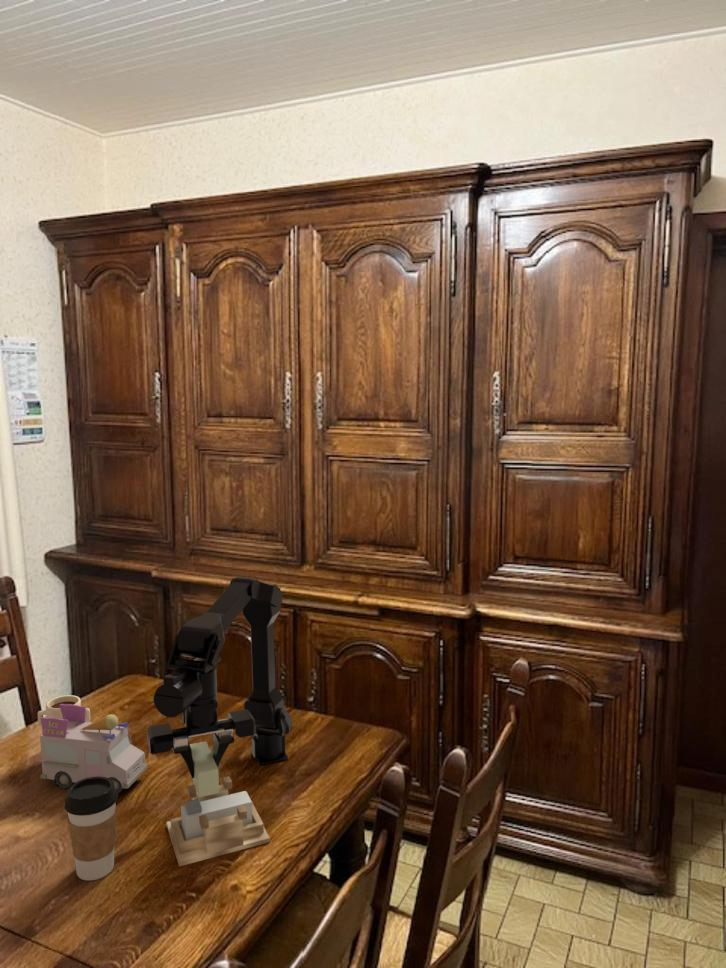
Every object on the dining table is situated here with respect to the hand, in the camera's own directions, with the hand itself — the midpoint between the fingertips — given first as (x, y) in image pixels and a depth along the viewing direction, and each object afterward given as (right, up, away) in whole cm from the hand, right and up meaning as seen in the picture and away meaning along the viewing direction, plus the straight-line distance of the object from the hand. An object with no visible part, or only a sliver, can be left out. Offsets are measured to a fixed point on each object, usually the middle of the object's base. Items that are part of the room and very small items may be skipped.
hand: (203, 774), depth 131 cm
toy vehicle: (-26, -9, +18) cm, 33 cm away
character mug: (-36, -8, +27) cm, 46 cm away
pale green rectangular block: (0, -1, 0) cm, 1 cm away
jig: (+3, -11, 0) cm, 11 cm away
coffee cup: (-16, -12, -9) cm, 22 cm away
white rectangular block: (+3, -10, 0) cm, 10 cm away
